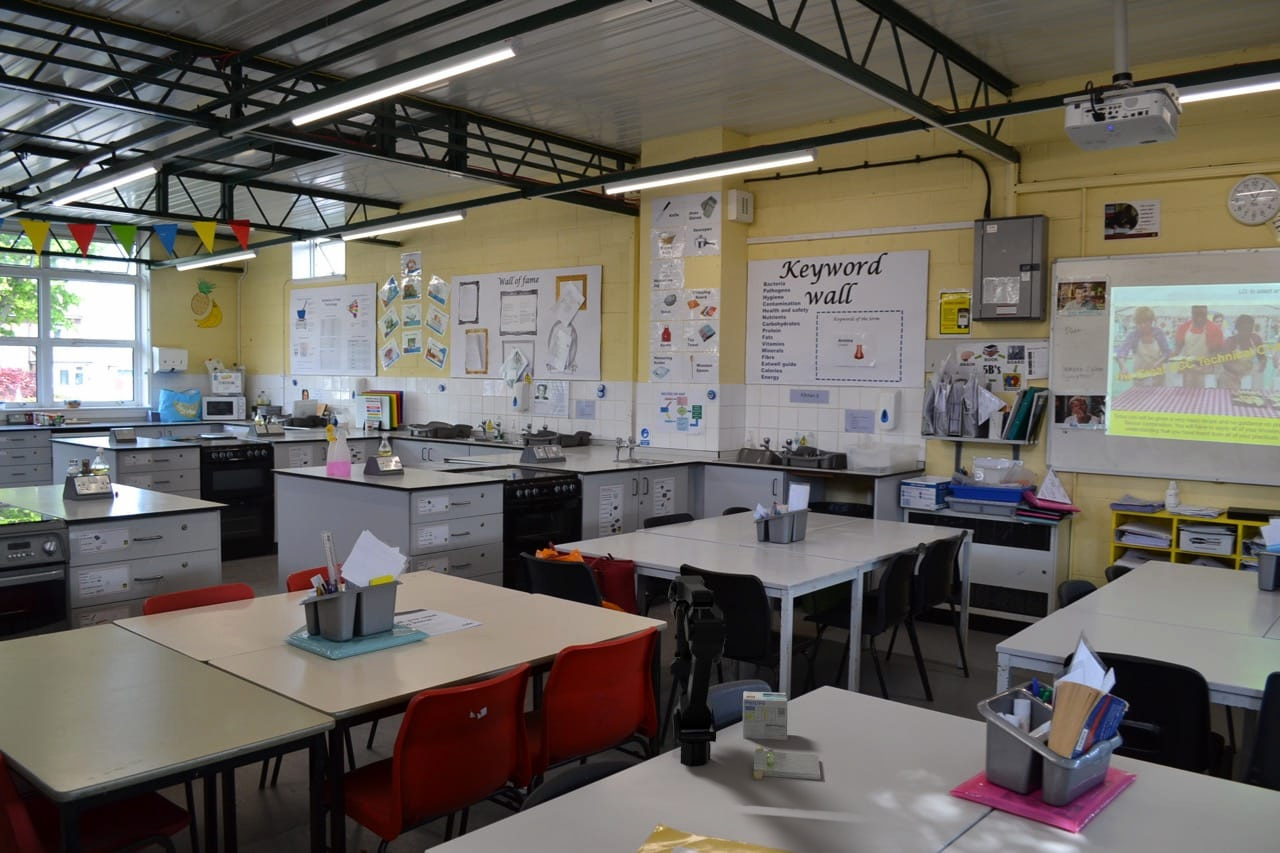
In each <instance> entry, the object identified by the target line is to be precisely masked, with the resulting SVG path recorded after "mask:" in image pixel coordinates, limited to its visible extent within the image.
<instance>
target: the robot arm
mask: <svg viewBox="0 0 1280 853" xmlns="http://www.w3.org/2000/svg"><path fill="white" fill-rule="evenodd" d="M668 588H669V589H668V593H667V596H668V597H667V598H668V600H669V602H670V603H671V604H670V608H669V609H670V612H671V614H672V616H673V618H674V619H675V634H674V640H675V651H674V659H673V660H672V661H671V663H670V665H669V669H670V670H669V671H670V672H669V674H670V675H673V676H676V678H677V680H678V682H679V685H680V688H681V692H680V694H679V698H678V699H679V700H678V704H677V708H675V709H674V714H672V725H673V726H672V727H673V741H676V742H677V743H678V744H680V764H682V765H685V766H688V767H690V768H693V767H703V766H705V765H707V764H708V763H709V761H710V760H711V751H712V750H711V749H712V748H711V743H712V742H713V743H716V742H717V728H716V722H715V721H716V720H715V713H714V709H713V707H712V705H711V699H710V697H709V690H710V683H711V679H712V672H713V665H714V664H718V665H719V664H720V662H721V660H722V659H721V658H722V657H723V654H724V652H725V647H724V645H725V643H726V641H728V637H729V636H728V635H729V630H728V629H729V628H728V622H727V617H726V612H725V610H724V609H723V608H722V607H721V605H720V604H719V603H718V602H717V601H716V597H715V593H714V590H711V589H708V588H706V581H705V580H704V579H703V577H702V576H701V575H676V576H675V577H674V580H671V583H670V585H669V587H668ZM701 609H710V612H711V614H713V616H714V617H711V618H709V617H708V618H707V617H705V618H702V617H701ZM702 730H703V731H702Z"/></svg>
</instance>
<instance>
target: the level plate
mask: <svg viewBox="0 0 1280 853" xmlns="http://www.w3.org/2000/svg"><path fill="white" fill-rule="evenodd" d="M756 770H759V771H762V772H763V776H762V777H773V778H774V777H776V778H786V779H787V778H788V779H789V778H791V779H804V780H818V781H821V769H820V760H819V755H818V754H809V753H796V752H795V753H794V752H793V753H792V752H780V751H774V750H773V749H768V750H767V751H766V750H763V751H755V750H754V759H753V772H754V771H756Z"/></svg>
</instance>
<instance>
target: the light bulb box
mask: <svg viewBox="0 0 1280 853" xmlns="http://www.w3.org/2000/svg"><path fill="white" fill-rule="evenodd" d="M742 738H743V739H757V740H777V741H779V740H780V741H781V740H782V741H787V740H788V697H787V693H786V692H772V691H771V692H768V691H764V692H763V691H747V690H745V691H743V698H742Z"/></svg>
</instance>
